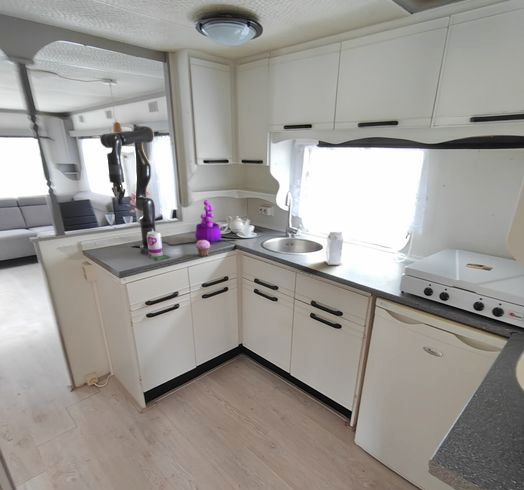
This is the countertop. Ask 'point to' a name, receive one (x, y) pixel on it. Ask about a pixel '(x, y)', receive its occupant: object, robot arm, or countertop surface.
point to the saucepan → (142, 248)
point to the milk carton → (334, 248)
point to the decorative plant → (207, 226)
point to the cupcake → (203, 247)
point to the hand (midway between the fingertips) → (120, 205)
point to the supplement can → (154, 244)
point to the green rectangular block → (161, 257)
